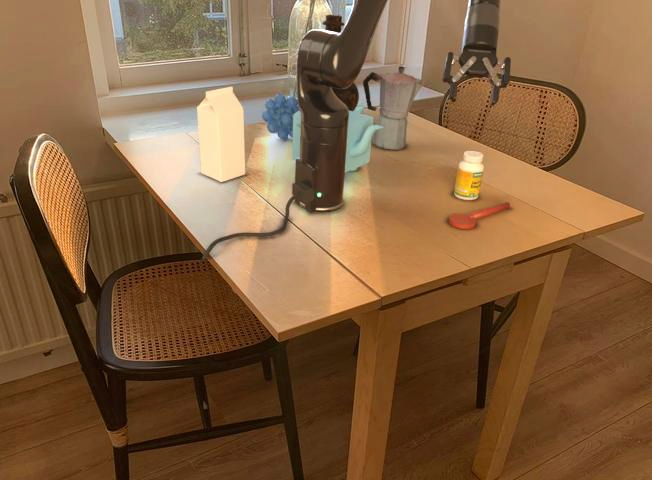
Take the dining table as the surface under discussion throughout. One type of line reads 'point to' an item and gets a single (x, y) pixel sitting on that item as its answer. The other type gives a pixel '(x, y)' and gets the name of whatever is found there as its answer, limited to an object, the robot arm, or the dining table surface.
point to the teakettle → (356, 138)
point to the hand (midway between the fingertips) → (473, 102)
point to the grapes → (280, 115)
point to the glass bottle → (351, 93)
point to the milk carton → (221, 135)
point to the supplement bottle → (469, 176)
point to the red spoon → (474, 216)
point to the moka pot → (393, 106)
